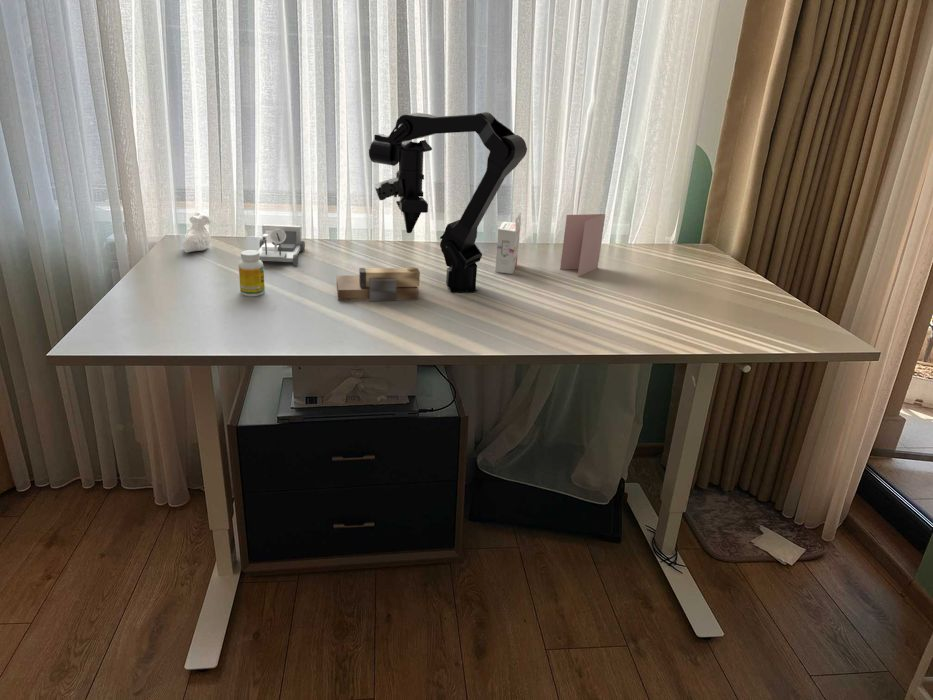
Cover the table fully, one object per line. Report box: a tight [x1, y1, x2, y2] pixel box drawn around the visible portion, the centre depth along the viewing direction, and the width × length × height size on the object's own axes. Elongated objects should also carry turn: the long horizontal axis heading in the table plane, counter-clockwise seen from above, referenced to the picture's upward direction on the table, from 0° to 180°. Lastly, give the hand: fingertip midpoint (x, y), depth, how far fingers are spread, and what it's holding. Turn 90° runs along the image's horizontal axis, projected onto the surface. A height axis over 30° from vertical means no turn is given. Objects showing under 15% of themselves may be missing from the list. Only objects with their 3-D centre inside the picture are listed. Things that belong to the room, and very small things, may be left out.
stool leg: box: [358, 266, 421, 288], centre depth 164 cm, size 14×3×4 cm, turn 103°
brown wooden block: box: [336, 275, 419, 302], centre depth 166 cm, size 18×11×5 cm, turn 102°
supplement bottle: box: [238, 249, 265, 297], centre depth 160 cm, size 5×5×10 cm
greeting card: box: [559, 213, 606, 277], centre depth 189 cm, size 11×7×15 cm, turn 108°
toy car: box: [257, 223, 306, 267], centre depth 184 cm, size 18×10×12 cm
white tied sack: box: [182, 210, 212, 253], centre depth 187 cm, size 12×8×11 cm
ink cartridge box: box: [494, 212, 522, 275], centre depth 187 cm, size 9×5×15 cm, turn 168°
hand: (408, 232), depth 176 cm, fingers closed
